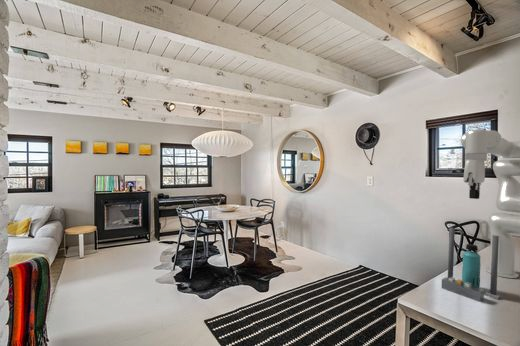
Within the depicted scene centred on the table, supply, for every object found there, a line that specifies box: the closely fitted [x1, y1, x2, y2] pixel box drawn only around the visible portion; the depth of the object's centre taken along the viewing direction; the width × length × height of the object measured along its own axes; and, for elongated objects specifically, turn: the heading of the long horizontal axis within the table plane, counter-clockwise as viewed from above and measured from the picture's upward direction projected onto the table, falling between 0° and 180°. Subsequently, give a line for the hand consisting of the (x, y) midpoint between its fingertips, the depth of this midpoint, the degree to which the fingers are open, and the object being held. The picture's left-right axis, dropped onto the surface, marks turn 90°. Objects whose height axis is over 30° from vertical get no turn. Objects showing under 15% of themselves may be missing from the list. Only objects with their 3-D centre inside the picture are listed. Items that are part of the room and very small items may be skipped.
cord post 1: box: [446, 227, 457, 281], centre depth 124 cm, size 4×4×26 cm
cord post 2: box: [484, 235, 502, 300], centre depth 111 cm, size 4×4×26 cm
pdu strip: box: [441, 276, 485, 303], centre depth 113 cm, size 4×14×5 cm, turn 32°
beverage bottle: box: [461, 243, 482, 288], centre depth 117 cm, size 6×7×20 cm
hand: (474, 198), depth 117 cm, fingers closed
